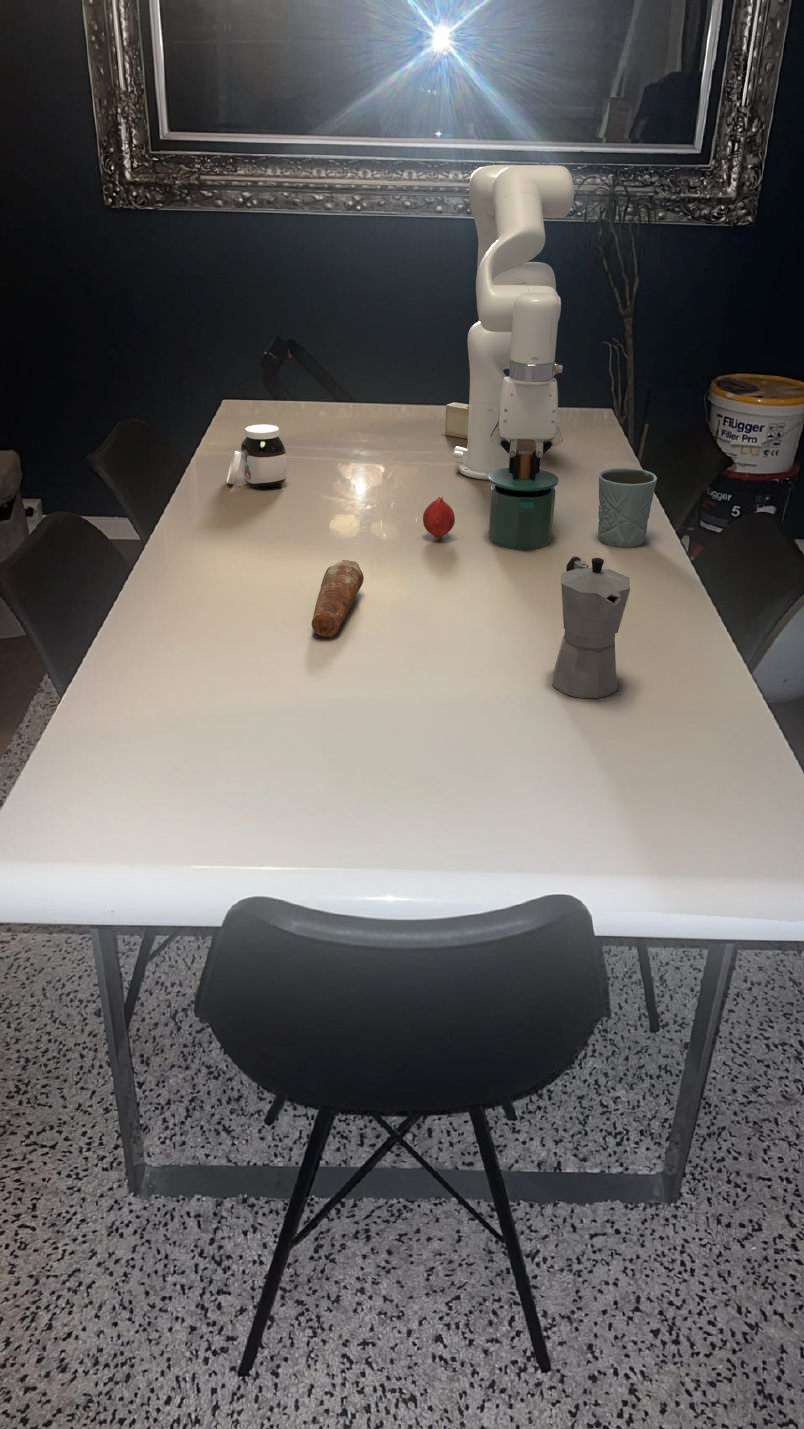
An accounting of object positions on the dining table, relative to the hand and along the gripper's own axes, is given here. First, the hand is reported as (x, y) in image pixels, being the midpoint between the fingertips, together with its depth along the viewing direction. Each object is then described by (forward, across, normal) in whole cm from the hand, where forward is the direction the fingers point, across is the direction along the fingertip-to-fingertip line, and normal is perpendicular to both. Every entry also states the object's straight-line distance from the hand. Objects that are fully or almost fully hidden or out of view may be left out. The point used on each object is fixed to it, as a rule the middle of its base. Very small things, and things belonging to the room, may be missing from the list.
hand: (523, 476), depth 185 cm
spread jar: (+12, +53, -30) cm, 62 cm away
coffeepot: (+11, -4, +57) cm, 58 cm away
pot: (+12, 0, +1) cm, 12 cm away
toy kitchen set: (+13, 0, -76) cm, 77 cm away
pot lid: (+1, 0, 0) cm, 1 cm away
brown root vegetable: (+11, +31, +36) cm, 49 cm away
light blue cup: (+12, -19, 0) cm, 22 cm away
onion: (+12, +15, +1) cm, 19 cm away
